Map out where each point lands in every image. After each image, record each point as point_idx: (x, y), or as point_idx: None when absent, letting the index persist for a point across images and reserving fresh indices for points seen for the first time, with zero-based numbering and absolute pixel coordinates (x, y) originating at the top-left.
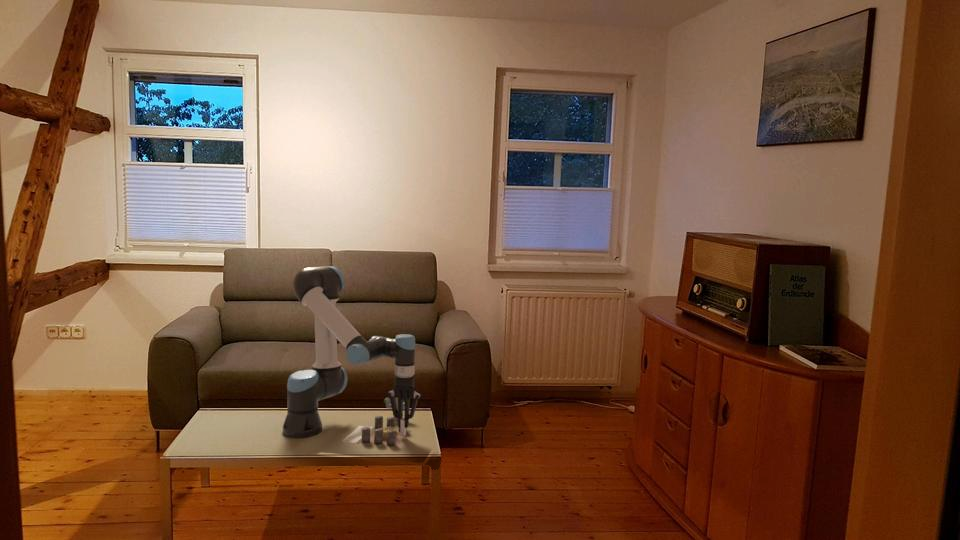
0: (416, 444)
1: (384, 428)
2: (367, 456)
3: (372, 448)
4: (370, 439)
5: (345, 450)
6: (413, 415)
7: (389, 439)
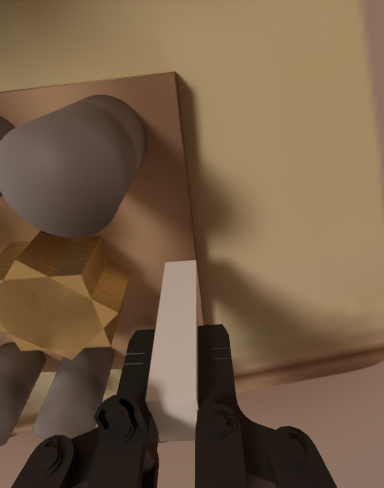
0: (289, 275)
1: (14, 310)
2: None
3: None
4: None
5: None
6: (317, 464)
7: None
